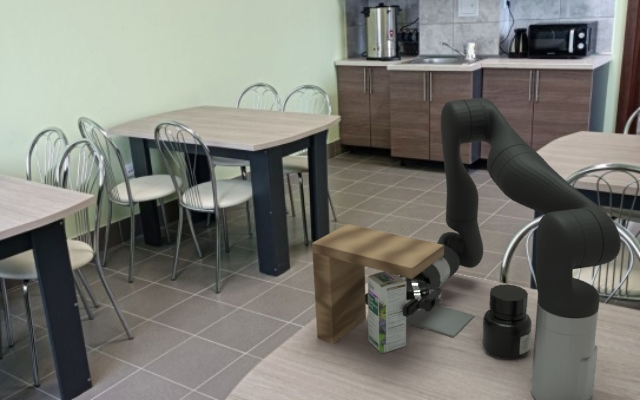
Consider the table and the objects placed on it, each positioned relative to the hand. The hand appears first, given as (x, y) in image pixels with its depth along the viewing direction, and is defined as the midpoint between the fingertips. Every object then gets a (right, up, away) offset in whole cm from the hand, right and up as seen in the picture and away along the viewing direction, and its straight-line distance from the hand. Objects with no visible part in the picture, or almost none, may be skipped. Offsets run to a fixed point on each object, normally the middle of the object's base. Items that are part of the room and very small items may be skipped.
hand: (385, 306), depth 121 cm
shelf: (-1, -8, +4) cm, 9 cm away
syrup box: (+1, -8, +3) cm, 9 cm away
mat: (+9, -4, +14) cm, 17 cm away
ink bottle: (+23, -8, 0) cm, 25 cm away
